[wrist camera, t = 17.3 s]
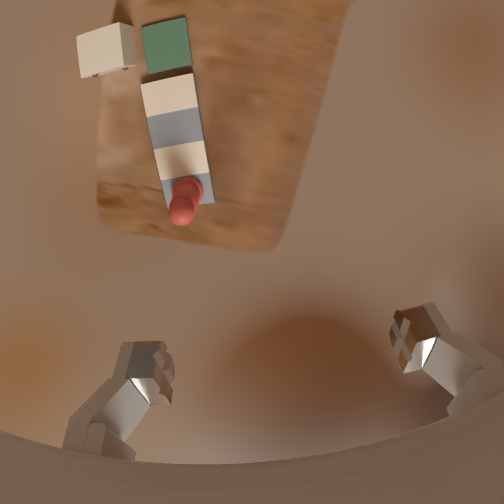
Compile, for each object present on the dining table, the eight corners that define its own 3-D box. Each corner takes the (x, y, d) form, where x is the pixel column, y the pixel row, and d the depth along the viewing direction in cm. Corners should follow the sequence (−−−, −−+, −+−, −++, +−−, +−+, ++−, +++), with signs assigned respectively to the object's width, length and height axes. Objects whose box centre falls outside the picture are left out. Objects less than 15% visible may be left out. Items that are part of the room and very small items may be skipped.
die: (133, 24, 25) (92, 36, 25) (119, 19, 21) (73, 35, 21) (138, 67, 28) (97, 78, 28) (124, 68, 24) (79, 81, 24)
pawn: (170, 179, 36) (157, 203, 30) (201, 174, 36) (194, 198, 30) (176, 207, 38) (165, 236, 32) (205, 203, 38) (201, 232, 32)
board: (142, 84, 30) (140, 84, 29) (193, 73, 29) (192, 73, 29) (169, 205, 39) (168, 209, 38) (215, 198, 38) (214, 202, 38)
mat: (142, 27, 26) (141, 27, 25) (185, 17, 26) (185, 17, 25) (149, 74, 29) (148, 74, 29) (192, 64, 29) (192, 64, 29)
